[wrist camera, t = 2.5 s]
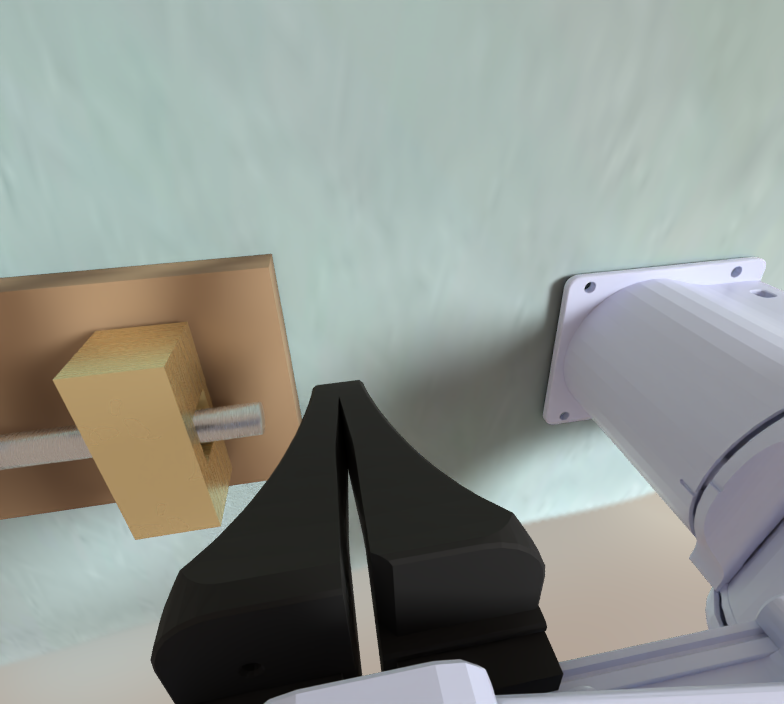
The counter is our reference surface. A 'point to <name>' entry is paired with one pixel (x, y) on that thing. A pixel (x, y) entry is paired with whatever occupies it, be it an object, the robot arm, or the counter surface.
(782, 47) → the counter surface
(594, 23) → the counter surface
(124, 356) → the nut
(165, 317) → the base
